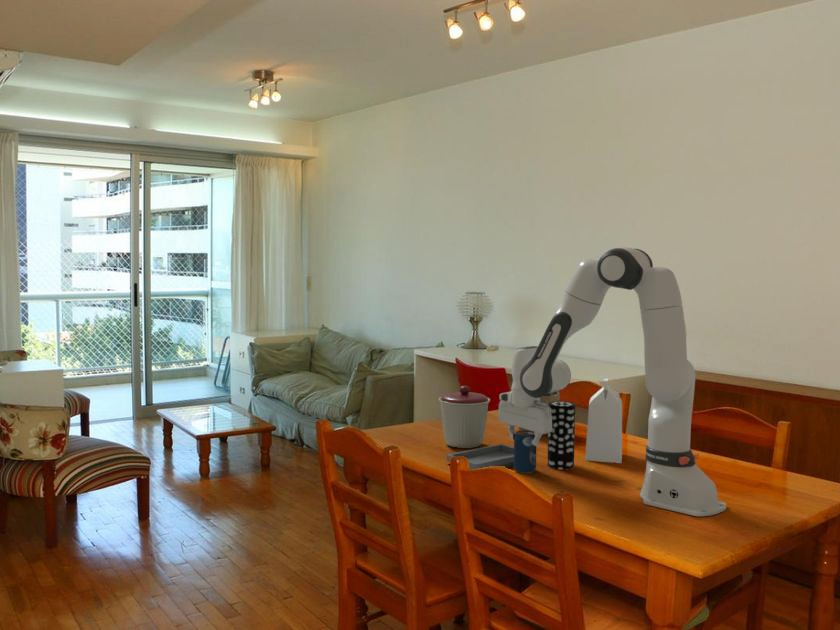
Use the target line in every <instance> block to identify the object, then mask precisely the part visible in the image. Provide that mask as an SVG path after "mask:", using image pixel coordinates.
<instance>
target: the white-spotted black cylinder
mask: <svg viewBox="0 0 840 630" xmlns="http://www.w3.org/2000/svg"><path fill="white" fill-rule="evenodd" d="M549 407H550V408H551V416H552V431H551V432H550V433H548V435H547V463H546V464H547V467H548V468H551V469H552V470H553V469H554V470H560V471H561V470H562V471H564V470H566V471H567V470H571V469H574V468H575V440H576V439H575V437H576V436H575V435H576V434H575V432H576V430H575V429H576V404H575V403H574V402H570V401H562V400H561V401H560V400H559V401H556V402H550V403H549Z"/></svg>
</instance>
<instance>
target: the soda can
mask: <svg viewBox="0 0 840 630" xmlns="http://www.w3.org/2000/svg"><path fill="white" fill-rule="evenodd" d="M515 433H516V435H515V437H514V439H513V447H514V466H513V468H514V469H515V471H516V472H517V473H520V474H532V473H534V472H535V471H536V469H537V446H533V445H532V444H531V443H532V442H531V441H532V440H533V439H534V438H535V435H534V432H532V431H519V430H517V431H515Z"/></svg>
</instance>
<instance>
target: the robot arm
mask: <svg viewBox="0 0 840 630" xmlns="http://www.w3.org/2000/svg"><path fill="white" fill-rule="evenodd" d="M611 287H613V288H616V289H617V288H618V289H624V290H629V291H631V290H634V292H635V293H636V294H637V297H638V303H639V309H640V310H639V311H640V316H641V325H642V330H643V341H644V342H643V343H644V345H643V346H644V353H643V355H644V373H645V388H646V390H647V392H648V394H649V395H650V396H651V401H650V402H651V403H650V408H649V415H648V423H647V425H648V428H647V430H648V431H647V445H646V446H645V462H646V464H645V465H646V466H645V467H646V468H645V474H644V480H643V483H642V487H641V490H640V492H639V496H640V498H641V499H642V500H643V504H645V505H647V506H652V507H655V508H660V509H664V510H669V511H673V512H677V513H681V514H684V515H689V516H694V517H707V516H708V517H709V516H714V515H716V514H721V512H724V511H725V510H727V503H726V502H723V500H722V501H721V500H720V499H719V498H718V491H717V487H716V484H715V482H714V481H713V480H712V479H710V478H709V476H707V474H706V473H705V472H703V470H702V469H701V468H699V466H697V464H696V460H697V459H699V458H700V457H699V456H700V454H699V453H698V454H693V451H692V448H691V431H692V430H691V429H692V417H693V407H694V396H695V387H696V386H695V385H696V370H695V367H694V365H693V363H692V362H691V361H689V360H688V354H687V353H688V349H687V330H686V322H685V315H684V314H685V313H684V306H683V300H682V295H681V290H680V287H679V283H678V280H677V277H676V275H675V273H674V271H672V270H671V269H670V268H667V267H663V266H654V264H653V261H652V259H651V257H650V255H649V254H647V253H646V252H645V251H643V250H641V249H639V248H632V247H628V246H627V247H626V246H625V247H618V248H617V247H615V248H612V249H608V250H607V251H606V252H604V253H603V254H602V255H601V256H600V258H599V259H594V258H593V259H592V258H588V259H585V260H582V261H581V262H580V263H578V265H577V267H576V268H575V270H574V272H573V273H572V276H571V277H570V279H569V281H568V283H567V285H566V288H565V290H564V293H563V295H562V297H561V300H560V302H559V305H558V307H557V309H556V311H555V313H554V315H552V316H553V317H552V318H551V320H550V322H549V324H548V325H547V328H546V329H545V332H544V333H543V335H542V337H541V340H540V342H539V344H538V346H536V345H531V346H529V345H528V346H524V347H523V346H522V347H519V348H516V350H514V353H513V357H512V364H511V377H512V384H511V388H510V389H511V390H510V391H507V392H502V393H500V394H499V400H500V401H499V403H498V413H497V415H498V417H497V418H498V420H499V422H500V423H502V424H506V426H507V427H506V428H507V430H508V432H509V439H511V440H514V437H515V435H516V430H515V427H516V428H518V427H520V428H523V429H527V430H530V431H534V435H536V436H535V438H534V439H533V440H532V441H531V442H532V443H531V444H532V445H533V446H536V447H538V446H539V445H540V440H541V438H542V434H547V433H550V432H551V431H552V416H551V408H550V407H549V406H548V404H547V403H543V402H540V397H542V396H544V395H547V394H549V393H552V392H555V391H558V392H559V391H560V390H563V389H565V388H567V387H568V385H570V382H571V378H572V372H571V369H570V367H569V366H568V364H567V363H566V362H565V361H564V360H561V359H558V358H559V355H560V353H561V351H562V349H563V347H564V345H565V344H566V342H568V340H569V338H570V337H572V336H573V335H574V334H576V333H577V332H578V331H581V330H582V329H584V328H586V327H587V326H589V325H590V324H592V322H593V321H594V320H595V318H596V316H597V315H598V313H599V311H600V309H601V307H602V304H603V301H604V299H605V296H606V294H607V293H608V290H610V288H611ZM547 406H548V407H547ZM718 499H719V500H718Z"/></svg>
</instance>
